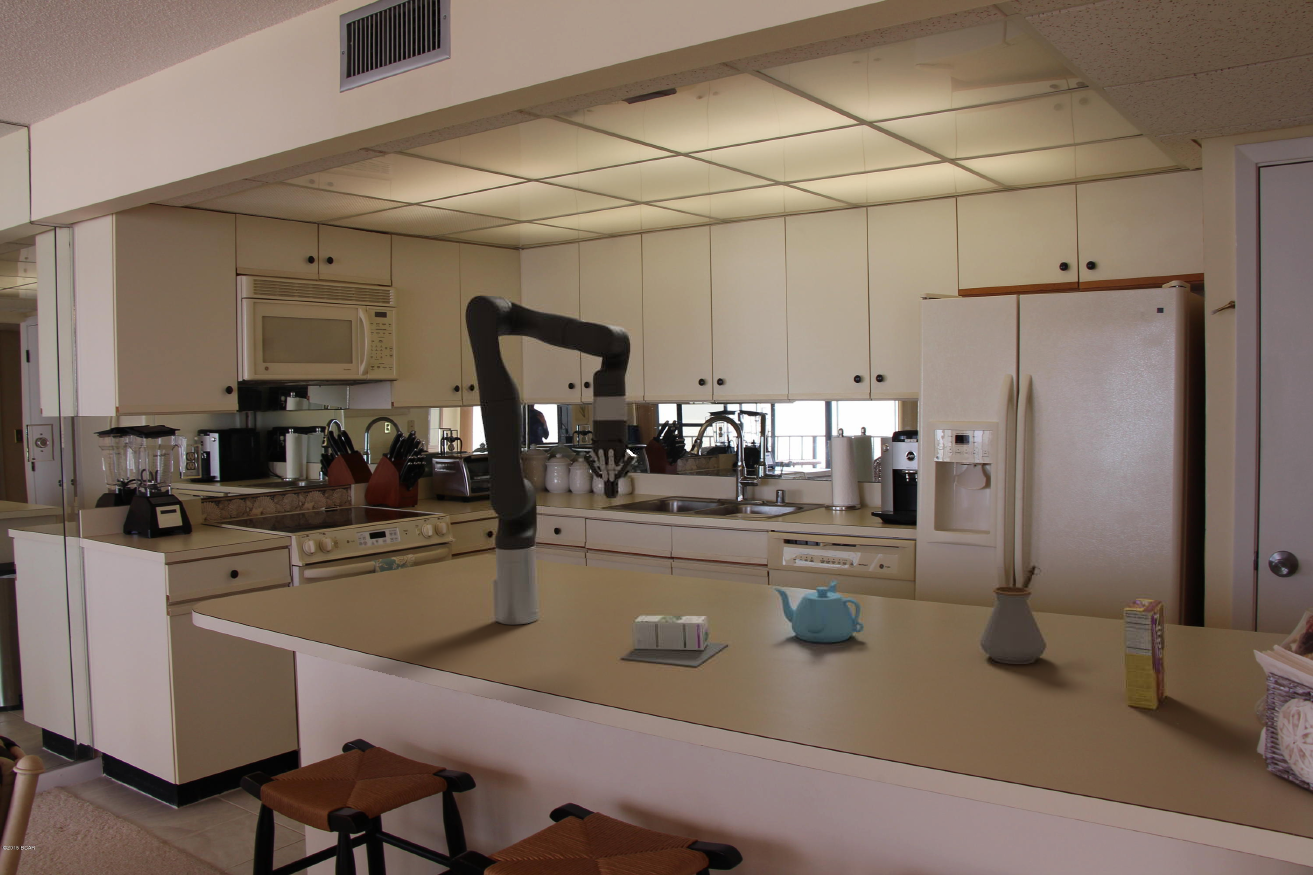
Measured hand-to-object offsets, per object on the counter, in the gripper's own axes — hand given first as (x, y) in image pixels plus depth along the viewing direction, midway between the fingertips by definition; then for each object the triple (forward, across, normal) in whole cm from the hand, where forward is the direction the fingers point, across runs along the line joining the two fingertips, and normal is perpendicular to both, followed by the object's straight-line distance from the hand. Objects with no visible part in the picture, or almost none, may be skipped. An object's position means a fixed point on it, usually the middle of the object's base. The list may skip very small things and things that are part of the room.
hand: (611, 498), depth 195 cm
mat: (+29, +20, -9) cm, 36 cm away
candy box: (+28, +102, -7) cm, 106 cm away
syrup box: (+26, +10, -9) cm, 29 cm away
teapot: (+29, +42, +12) cm, 52 cm away
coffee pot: (+28, +81, +14) cm, 87 cm away
